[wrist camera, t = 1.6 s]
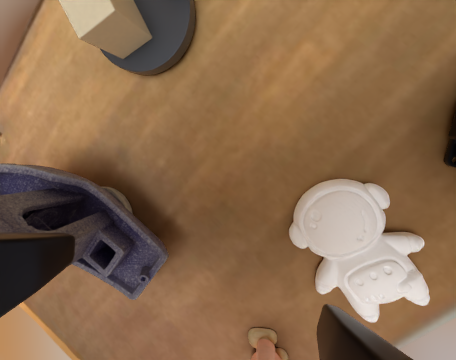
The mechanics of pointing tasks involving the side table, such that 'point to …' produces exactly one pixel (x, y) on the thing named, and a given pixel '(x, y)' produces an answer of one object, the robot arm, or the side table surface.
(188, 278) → the side table surface
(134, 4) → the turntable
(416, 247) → the astronaut figurine
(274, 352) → the grandmother figurine
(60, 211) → the toy boat
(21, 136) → the side table surface
